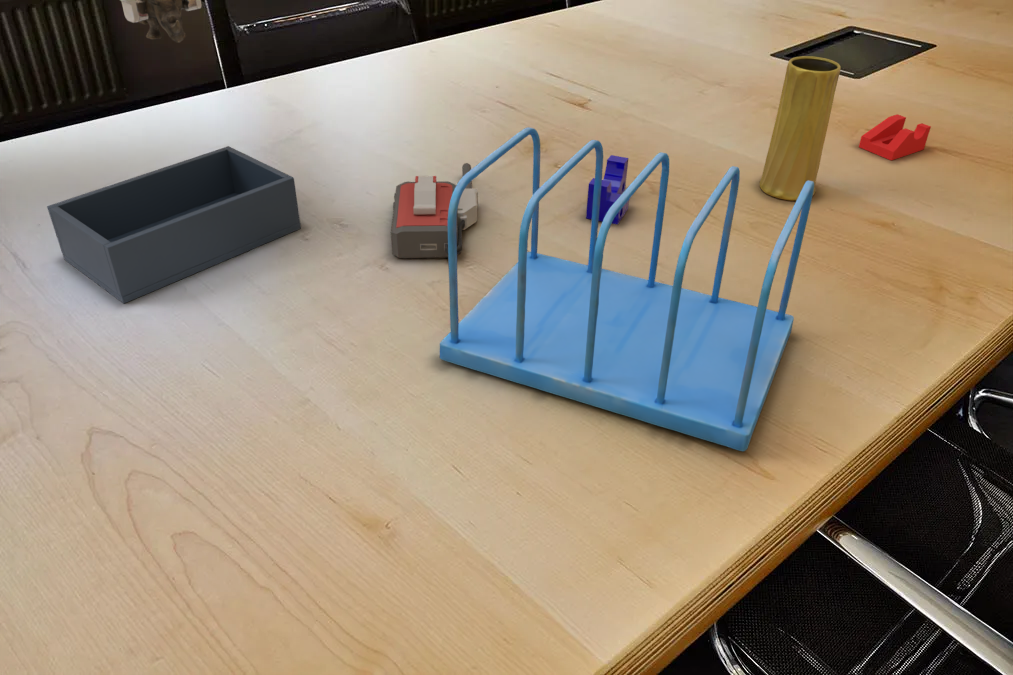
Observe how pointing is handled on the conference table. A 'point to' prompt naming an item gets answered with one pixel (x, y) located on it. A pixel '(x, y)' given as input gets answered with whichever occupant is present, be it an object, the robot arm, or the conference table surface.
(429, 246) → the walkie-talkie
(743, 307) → the file sorter
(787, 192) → the vase
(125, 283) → the bin
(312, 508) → the conference table surface
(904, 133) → the bracket
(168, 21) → the rhino figurine
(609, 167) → the cable holder
